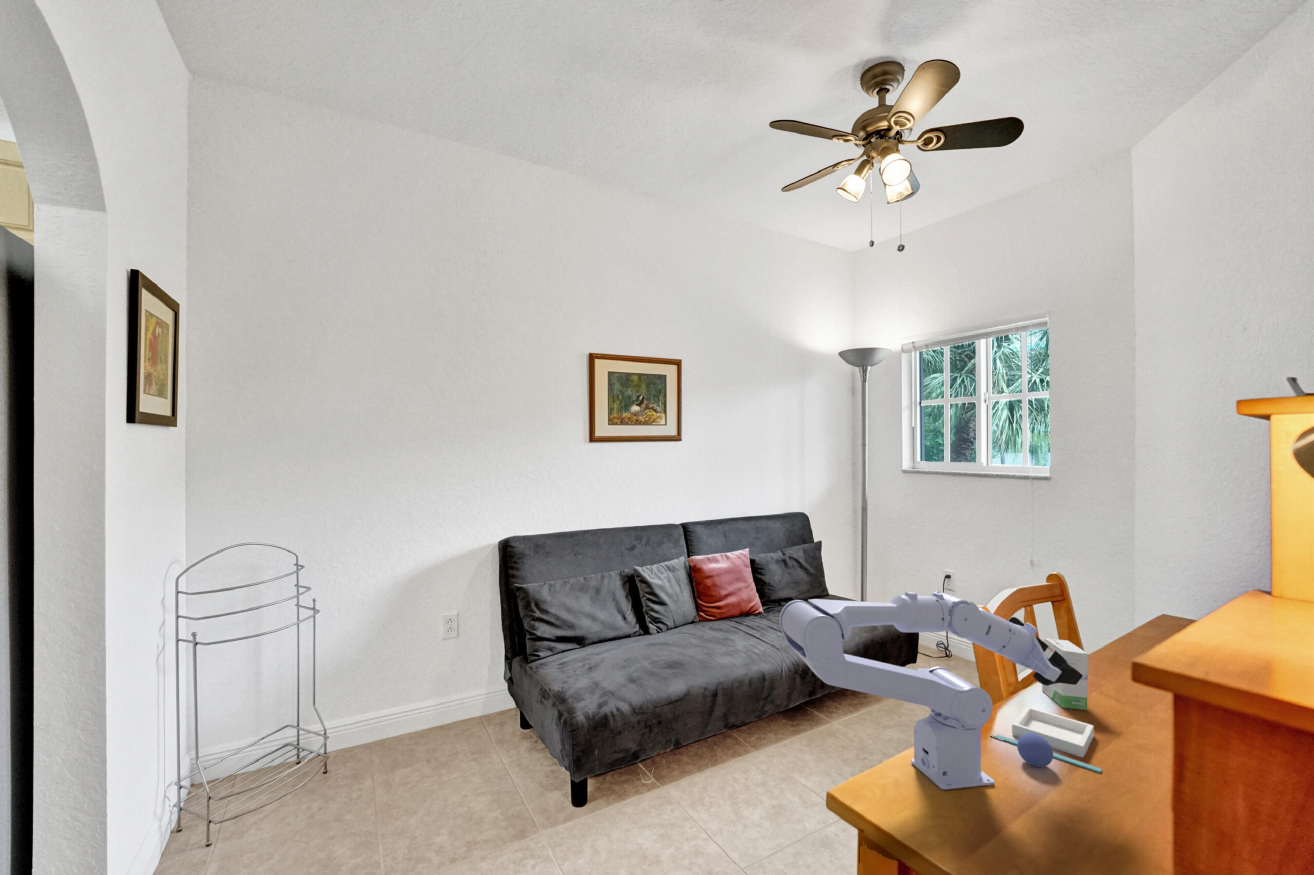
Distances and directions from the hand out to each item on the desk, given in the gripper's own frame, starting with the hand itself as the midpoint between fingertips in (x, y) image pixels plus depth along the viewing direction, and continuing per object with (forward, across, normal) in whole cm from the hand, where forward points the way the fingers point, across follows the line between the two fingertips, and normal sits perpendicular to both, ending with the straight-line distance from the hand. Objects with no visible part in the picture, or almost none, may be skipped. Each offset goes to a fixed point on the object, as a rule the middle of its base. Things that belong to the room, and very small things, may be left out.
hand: (1060, 663), depth 94 cm
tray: (+13, +4, +14) cm, 19 cm away
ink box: (+27, +17, +12) cm, 34 cm away
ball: (+1, -4, +14) cm, 15 cm away
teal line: (+6, -2, +16) cm, 17 cm away
